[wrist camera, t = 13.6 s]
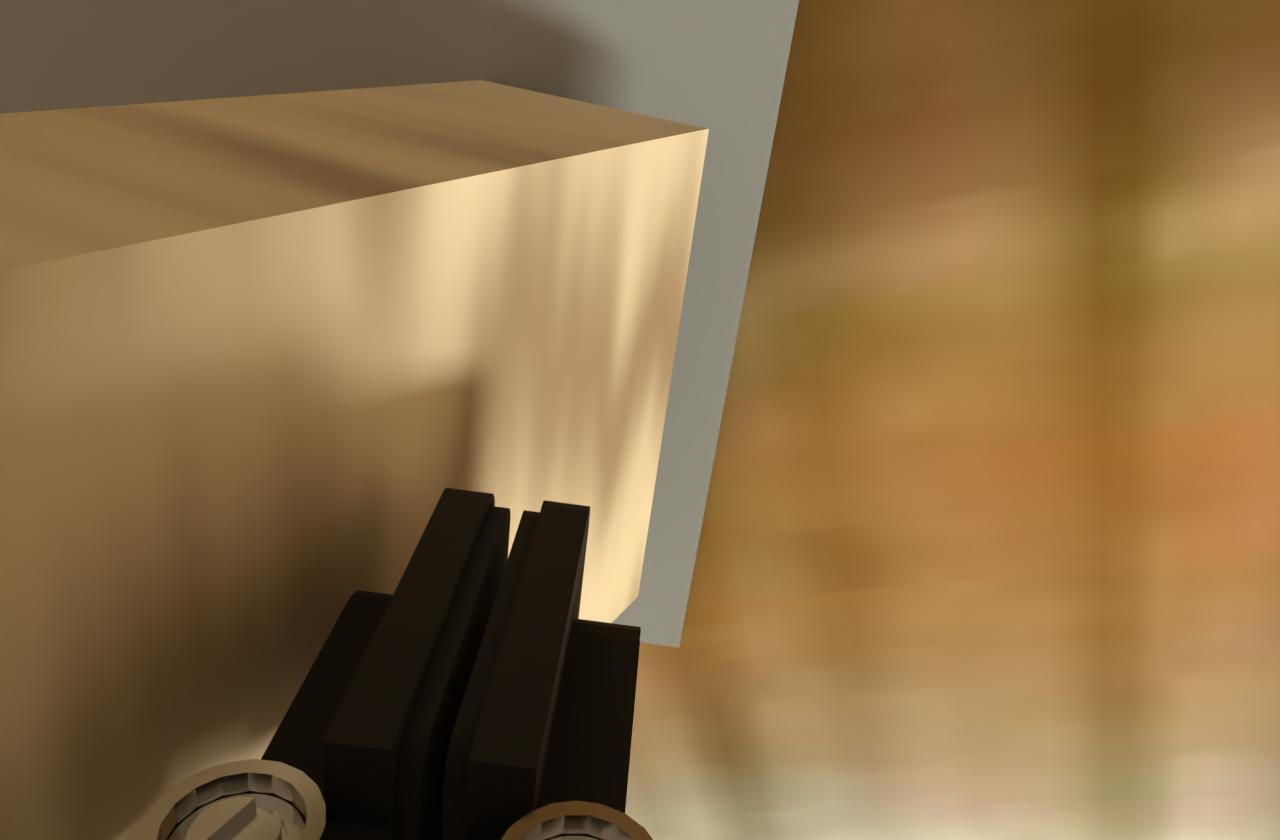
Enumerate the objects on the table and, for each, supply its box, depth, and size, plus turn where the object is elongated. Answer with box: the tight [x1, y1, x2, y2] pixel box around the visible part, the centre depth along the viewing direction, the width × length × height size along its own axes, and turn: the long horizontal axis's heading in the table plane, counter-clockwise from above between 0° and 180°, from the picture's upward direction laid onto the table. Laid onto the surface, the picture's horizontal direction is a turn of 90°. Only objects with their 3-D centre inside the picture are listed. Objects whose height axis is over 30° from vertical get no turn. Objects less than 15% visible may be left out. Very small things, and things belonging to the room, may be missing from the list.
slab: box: [0, 80, 709, 840], centre depth 12 cm, size 9×4×13 cm, turn 173°
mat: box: [0, 0, 799, 647], centre depth 19 cm, size 14×14×1 cm
